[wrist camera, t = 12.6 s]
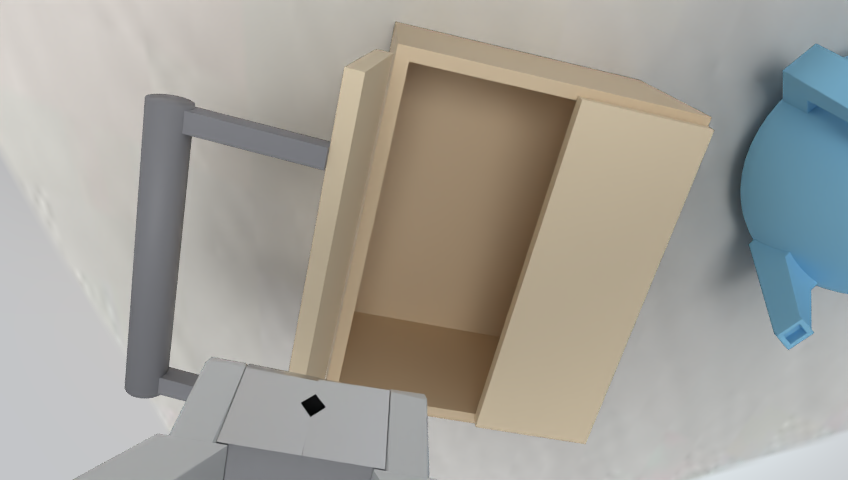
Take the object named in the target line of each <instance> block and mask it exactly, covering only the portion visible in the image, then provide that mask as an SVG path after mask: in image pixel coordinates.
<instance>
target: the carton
mask: <svg viewBox="0 0 848 480" xmlns="http://www.w3.org/2000/svg"><path fill="white" fill-rule="evenodd" d="M389 52H391V53H393V56H392V61H391V66H390V70H389V75H388V80H387V85H386V90H385V94H384V99H383V104H382V109H381V113H380V118H379V123H378V128H377V133H376V137H375V142H374V147H373V152H372V156H371V161H370V166H369V171H368V175H367V180H366V185H365V190H364V195H363V199H362V204H361V209H360V214H359V218H358V223H357V228H356V233H355V238H354V242H353V247H352V252H351V257H350V261H349V266H348V271H347V276H346V280H345V285H344V290H343V295H342V300H341V304H340V309H339V314H338V319H337V323H336V328H335V333H334V338H333V343H332V347H331V352H330V357H329V362H328V367H327V374H326V380H332V381H338V382H344V383H350V384H356V385H361V386H367V387H373V388H379V389H385V390H390V389H393V390H399V391H406V392H413V393H420V394H424V395H425V396H426V398H427V414H428V416H431V417H437V418H444V419H450V420H456V421H463V422H469V423H475V426H476V427H479V428H486V429H492V430H498V431H505V432H511V433H518V434H524V435H530V436H537V437H543V438H550V439H556V440H562V441H569V442H575V443H581V444H586V442H587V439H588V437H589V434H590V432H591V429H592V427H593V424H594V422H595V420H596V417H597V415H598V412H599V410H600V407H601V405H602V403H603V400H604V398H605V395H606V393H607V390H608V388H609V386H610V383H611V381H612V378H613V376H614V373H615V371H616V368H617V366H618V364H619V361H620V359H621V356H622V354H623V351H624V349H625V347H626V344H627V342H628V339H629V337H630V334H631V332H632V330H633V327H634V325H635V322H636V320H637V317H638V315H639V312H640V310H641V308H642V305H643V303H644V300H645V298H646V295H647V293H648V291H649V288H650V286H651V283H652V281H653V278H654V276H655V274H656V271H657V269H658V266H659V264H660V261H661V259H662V256H663V254H664V252H665V249H666V247H667V244H668V242H669V239H670V237H671V235H672V232H673V230H674V227H675V225H676V222H677V220H678V217H679V215H680V213H681V210H682V208H683V205H684V203H685V200H686V198H687V196H688V193H689V191H690V188H691V186H692V183H693V181H694V179H695V176H696V174H697V171H698V169H699V166H700V164H701V161H702V159H703V157H704V154H705V152H706V149H707V147H708V144H709V142H710V140H711V137H712V135H713V132H714V130H713V129H711V128H710V127H708V125H709V123H710V120H711V118H712V117H710V116H708V115H706V114H704V113H703V112H701V111H699V110H697V109H695V108H693V107H691V106H689V105H687V104H685V103H683V102H681V101H679V100H677V99H675V98H674V97H672V96H670V95H668V94H666V93H664V92H662V91H660V90H658V89H656V88H654V87H652V86H650V85H648V84H646V83H644V82H643V81H641V80H637V79H633V78H629V77H625V76H621V75H616V74H612V73H608V72H604V71H600V70H595V69H591V68H587V67H583V66H579V65H575V64H570V63H566V62H562V61H558V60H554V59H550V58H545V57H541V56H537V55H533V54H529V53H524V52H520V51H516V50H512V49H508V48H504V47H499V46H495V45H491V44H487V43H483V42H479V41H474V40H470V39H466V38H462V37H458V36H453V35H449V34H445V33H441V32H437V31H433V30H428V29H424V28H420V27H416V26H412V25H408V24H403V23H399V22H395V26H394V31H393V36H392V41H391V45H390V50H389Z"/></svg>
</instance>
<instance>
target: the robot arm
mask: <svg viewBox="0 0 848 480" xmlns="http://www.w3.org/2000/svg"><path fill="white" fill-rule="evenodd" d="M73 480H437V479H431V478H429V449H428V414H427V398H426V396H425V395H424V394H420V393H413V392H406V391H399V390H393V389H390V390H385V389H379V388H373V387H367V386H361V385H356V384H350V383H344V382H338V381H332V380H326V379H320V378H319V377H314V376H309V375H304V374H299V373H294V372H288V371H283V370H278V369H273V368H268V367H263V366H258V365H253V364H248V365H247V364H246V363H242V362H237V361H231V360H226V359H220V358H215V357H211V358H210V359H209V360H208V361H207V362H206V363H205V365H204V367H203V369H202V370H201V372H200V374H199V376H198V378H197V380H196V382H195V384H194V386H193V388H192V390H191V392H190V394H189V396H188V398H187V400H186V402H185V404H184V406H183V408H182V410H181V412H180V414H179V416H178V418H177V420H176V422H175V424H174V426H173V428H172V430H171V432H170V434H169V435H163V434H156V435H154V436H152V437H150V438H148V439H146V440H145V441H143V442H141V443H139V444H137V445H136V446H133V447H132V448H130V449H128V450H126V451H124V452H122V453H121V454H119V455H117V456H115V457H113V458H112V459H110V460H108V461H106V462H104V463H102V464H100V465H99V466H97V467H95V468H93V469H91V470H89V471H88V472H86V473H84V474H82V475H80V476H78V477H77V478H75V479H73Z"/></svg>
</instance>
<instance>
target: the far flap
mask: <svg viewBox="0 0 848 480" xmlns="http://www.w3.org/2000/svg"><path fill="white" fill-rule="evenodd" d="M392 56H393V53H391V52H387V51H383V50H379V49H375V50H374V51H372V52H370V53H368V54H366V55H365V56H363V57H361V58H359V59H358V60H356V61H354V62H352V63H350V64H349V65H347V66H345V67H344V72H343V77H342V83H341V88H340V94H339V99H338V105H337V110H336V116H335V121H334V126H333V132H332V137H331V142H329V141H326V140H322V139H318V138H314V137H310V136H306V135H302V134H298V133H295V132H291V131H287V130H283V129H279V128H275V127H271V126H268V125H264V124H260V123H256V122H252V121H248V120H244V119H240V118H237V117H233V116H229V115H225V114H221V113H217V112H213V111H210V110H206V109H202V108H198V107H195V103H194V102H192V101H191V100H189V99H186V98H183V97H179V96H174V95H167V94H150V95H147V96H145V105H144V119H143V134H142V148H141V162H140V177H139V191H138V205H137V219H136V234H135V248H134V262H133V277H132V291H131V305H130V320H129V334H128V348H127V363H126V378H125V390H126V392H127V393H128V394H130V395H131V396H134V397H138V398H153V397H156V396H159V395H164V396H168V397H171V398H175V399H179V400H183V401H186V400H187V398H188V396H189V394H190V392H191V390H192V388H193V386H194V384H195V382H196V380H197V378H198V376H199V375H197V374H194V373H190V372H186V371H182V370H178V369H175V368H171V367H169V360H170V350H171V340H172V330H173V320H174V310H175V300H176V290H177V280H178V270H179V260H180V249H181V239H182V229H183V219H184V209H185V199H186V189H187V179H188V169H189V159H190V149H191V139H192V136H194V137H197V138H201V139H205V140H209V141H213V142H217V143H221V144H224V145H228V146H232V147H236V148H240V149H244V150H248V151H251V152H255V153H259V154H263V155H267V156H271V157H275V158H278V159H282V160H286V161H290V162H294V163H298V164H302V165H305V166H309V167H313V168H317V169H321V170H324V169H325V168H326V170H325V176H324V181H323V186H322V192H321V197H320V203H319V208H318V214H317V219H316V225H315V230H314V236H313V241H312V247H311V252H310V257H309V263H308V268H307V274H306V279H305V285H304V290H303V296H302V301H301V307H300V312H299V318H298V323H297V328H296V334H295V339H294V345H293V350H292V356H291V361H290V367H289V372H294V373H299V374H304V375H309V376H314V377H319V378H320V379H325V376H326V371H327V366H328V362H329V357H330V352H331V347H332V343H333V338H334V333H335V328H336V323H337V319H338V314H339V309H340V304H341V300H342V295H343V290H344V285H345V280H346V276H347V271H348V266H349V261H350V257H351V252H352V247H353V242H354V238H355V233H356V228H357V223H358V218H359V214H360V209H361V204H362V199H363V195H364V190H365V185H366V180H367V175H368V171H369V166H370V161H371V156H372V152H373V147H374V142H375V137H376V133H377V128H378V123H379V118H380V113H381V109H382V104H383V99H384V94H385V90H386V85H387V80H388V75H389V70H390V66H391V61H392Z"/></svg>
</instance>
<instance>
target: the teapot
mask: <svg viewBox="0 0 848 480" xmlns="http://www.w3.org/2000/svg"><path fill="white" fill-rule="evenodd" d="M740 192H741V206H742V211H743V216H744V219H745V222H746V225H747V228H748V231H749V233H750V234H751V236H752V238H753V240H752V242H751V243H750V244H749V247H750V250H751V254H752V258H753V261H754V265H755V268H756V272H757V275H758V279H759V282H760V286H761V289H762V293H763V296H764V300H765V303H766V307H767V310H768V314H769V317H770V321H771V324H772V328H773V331H774V334H775V335H776V336H777V337H778V339H779V340H780V341H781V342H782V343H783V345H784V346H785V347H786V348H787V349H788V350H789V349H791V348H792V347H794V346H795V345H797V344H798V343H800V342H801V341H803V340H804V339H806V338H807V337H809V336H810V335H812V334H813V333H814V332H813V331H812V329H811V290H812V289H813V288H814V287H815V286H819V287H822V288H825V289H829V290H832V291H836V292H840V293H846V294H848V56H846V57H841V56H840V55H838V54H836V53H834V52H832V51H830V50H828V49H826V48H824V47H822V46H820V45H818V44H815V45H813V46H812V47H811V48H810V49H809V50H807V51H806V52H805V53H804V54H802V55H801V56H800V57H799V58H798V59H796V60H795V61H794V62H793V63H791V64H790V65H789V66H788V67H786V68H785V69H784V70H783V99H782V100H781V101H780V102H779V103H778V104H777V105H776V106H775V108H774V109H773V110H772V111H771V112H770V114H769V115H768V116H767V118H766V119H765V121H764V122H763V124H762V125H761V127H760V128H759V130H758V132H757V134H756V136H755V138H754V140H753V142H752V143H751V146H750V148H749V151H748V154H747V156H746V159H745V163H744V167H743V172H742V178H741V187H740Z"/></svg>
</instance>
